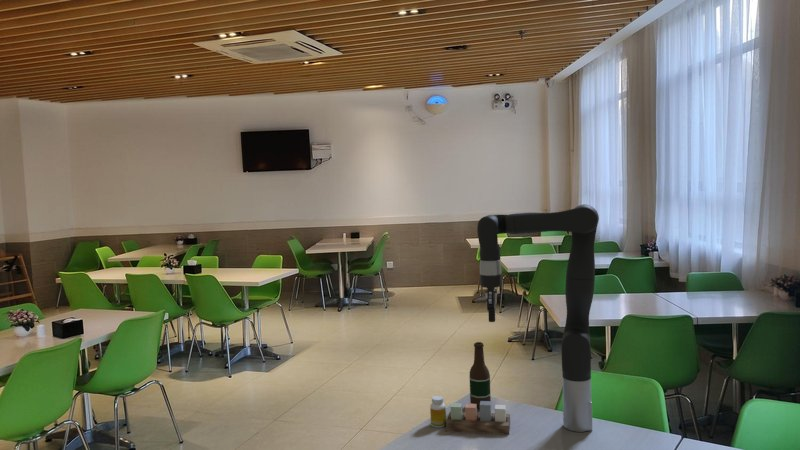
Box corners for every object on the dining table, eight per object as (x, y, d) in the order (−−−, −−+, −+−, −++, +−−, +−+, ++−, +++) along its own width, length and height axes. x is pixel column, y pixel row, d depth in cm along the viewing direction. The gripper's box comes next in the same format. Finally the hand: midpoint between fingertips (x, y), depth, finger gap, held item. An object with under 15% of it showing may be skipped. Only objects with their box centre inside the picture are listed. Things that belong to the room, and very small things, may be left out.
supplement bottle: (446, 427, 211) (445, 400, 210) (431, 428, 211) (430, 401, 210) (445, 421, 216) (444, 394, 215) (430, 421, 216) (429, 395, 215)
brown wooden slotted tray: (510, 422, 213) (510, 413, 213) (509, 434, 203) (508, 425, 203) (450, 419, 218) (450, 411, 217) (446, 431, 208) (446, 422, 208)
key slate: (491, 418, 211) (491, 401, 211) (490, 422, 208) (490, 405, 207) (481, 417, 212) (480, 400, 211) (480, 421, 208) (479, 404, 208)
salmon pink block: (477, 420, 212) (476, 403, 212) (476, 424, 209) (475, 407, 208) (466, 420, 213) (466, 403, 213) (465, 424, 210) (465, 407, 209)
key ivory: (506, 422, 210) (505, 405, 210) (505, 426, 207) (505, 409, 206) (495, 421, 211) (495, 404, 210) (495, 425, 207) (494, 408, 207)
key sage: (462, 419, 213) (462, 403, 213) (461, 424, 210) (460, 407, 209) (452, 419, 214) (451, 402, 214) (451, 423, 211) (450, 406, 210)
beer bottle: (467, 408, 227) (465, 345, 225) (472, 400, 234) (470, 339, 232) (488, 410, 224) (486, 346, 222) (492, 402, 231) (491, 340, 229)
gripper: (500, 275, 205) (501, 326, 207) (502, 269, 218) (503, 317, 220) (478, 276, 207) (479, 326, 209) (481, 269, 220) (482, 316, 221)
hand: (492, 321), depth 214 cm, fingers closed
